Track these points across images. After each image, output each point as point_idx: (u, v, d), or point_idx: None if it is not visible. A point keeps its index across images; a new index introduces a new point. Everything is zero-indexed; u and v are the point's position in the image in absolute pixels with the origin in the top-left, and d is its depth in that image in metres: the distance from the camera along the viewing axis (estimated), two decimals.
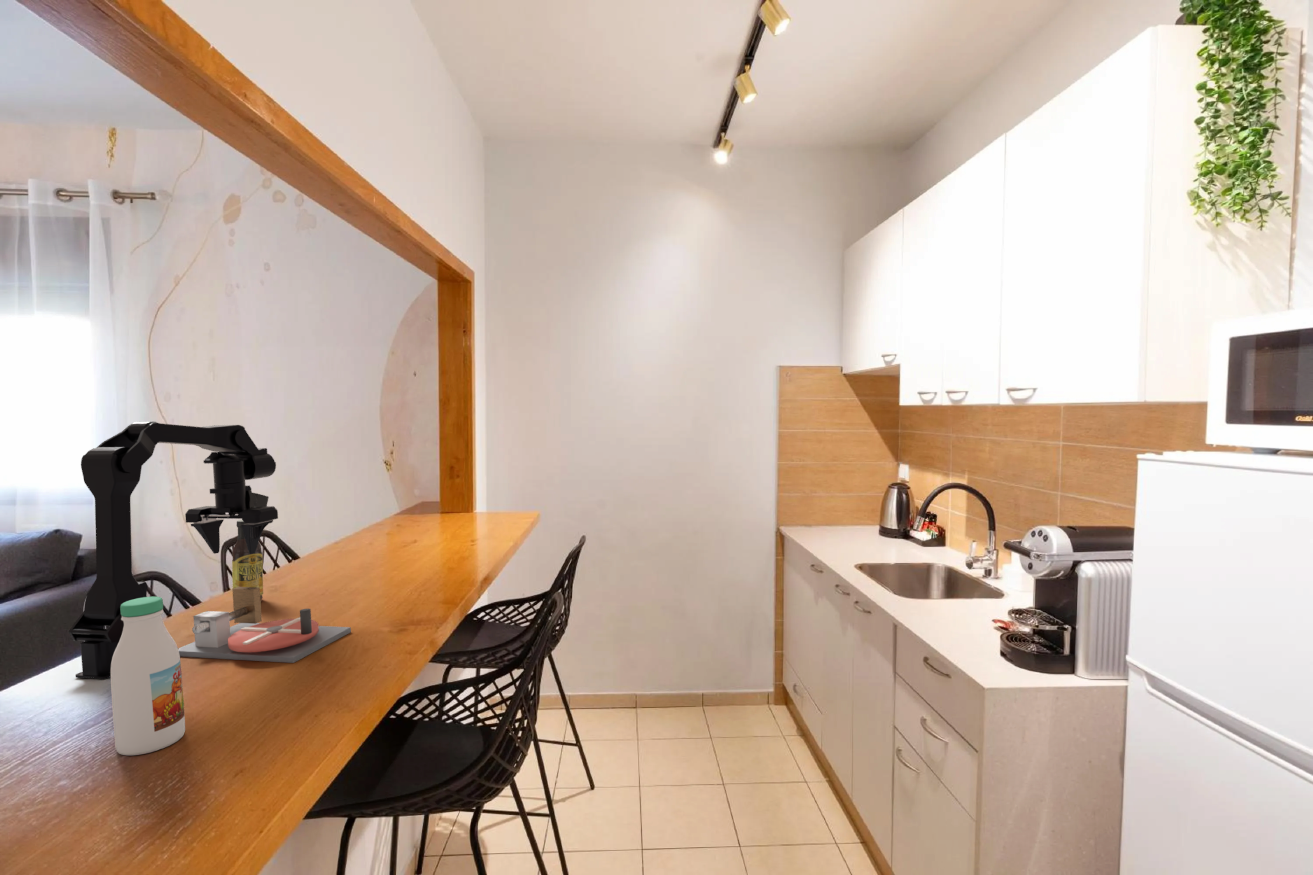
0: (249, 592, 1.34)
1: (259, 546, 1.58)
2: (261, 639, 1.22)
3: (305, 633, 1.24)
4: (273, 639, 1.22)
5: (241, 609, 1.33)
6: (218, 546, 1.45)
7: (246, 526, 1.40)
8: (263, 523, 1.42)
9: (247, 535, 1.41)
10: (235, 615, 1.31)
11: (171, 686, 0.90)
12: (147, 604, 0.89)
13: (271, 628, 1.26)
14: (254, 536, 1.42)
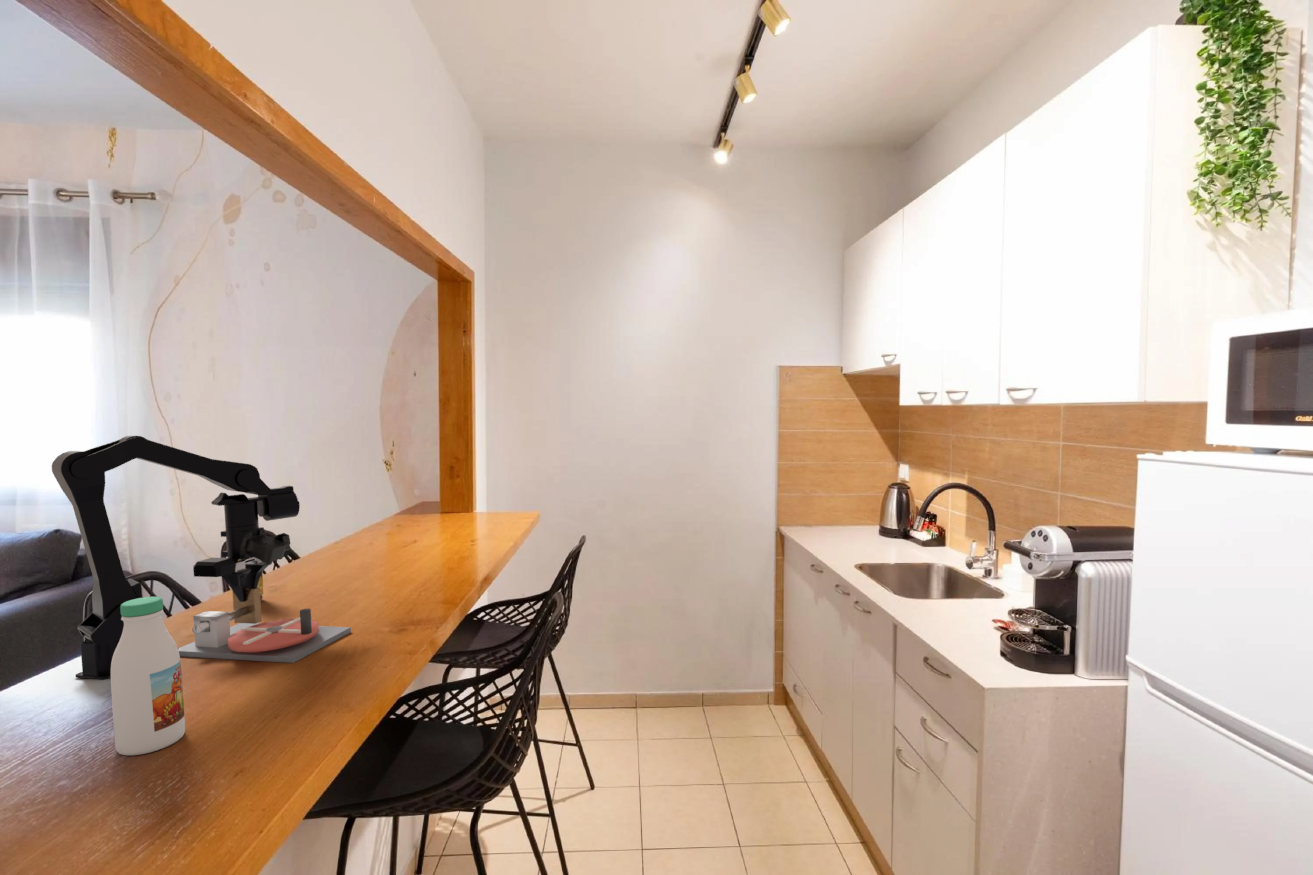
0: (249, 592, 1.34)
1: None
2: (261, 639, 1.22)
3: (305, 633, 1.24)
4: (273, 639, 1.22)
5: (241, 609, 1.33)
6: None
7: None
8: None
9: None
10: (235, 615, 1.31)
11: (171, 686, 0.90)
12: (147, 604, 0.89)
13: (271, 628, 1.26)
14: (234, 584, 1.33)
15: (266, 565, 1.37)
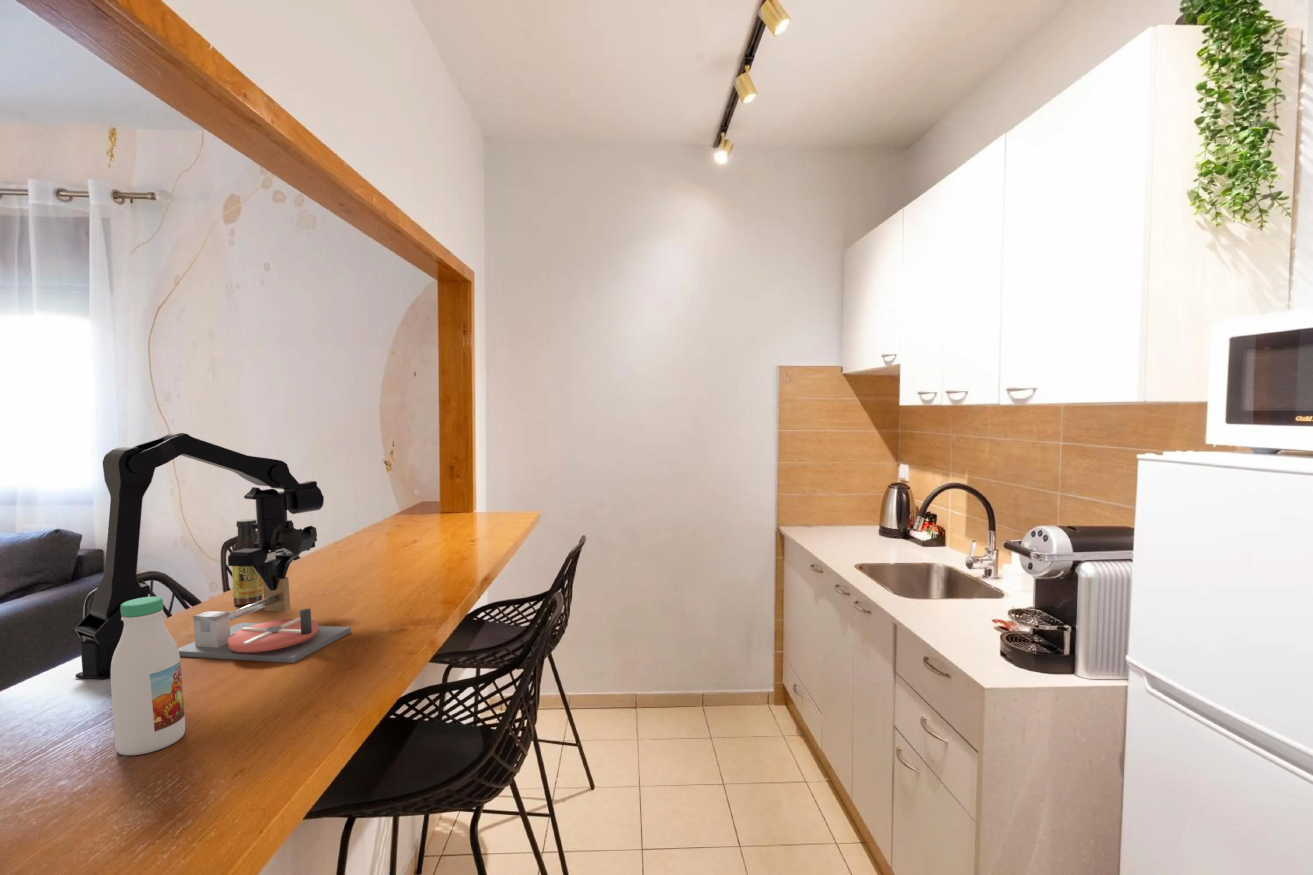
0: (278, 581, 1.41)
1: None
2: (261, 639, 1.22)
3: (305, 633, 1.24)
4: (273, 639, 1.22)
5: (271, 597, 1.41)
6: None
7: None
8: None
9: None
10: (266, 603, 1.39)
11: (171, 686, 0.90)
12: (147, 604, 0.89)
13: (271, 628, 1.26)
14: (265, 574, 1.40)
15: (294, 556, 1.44)
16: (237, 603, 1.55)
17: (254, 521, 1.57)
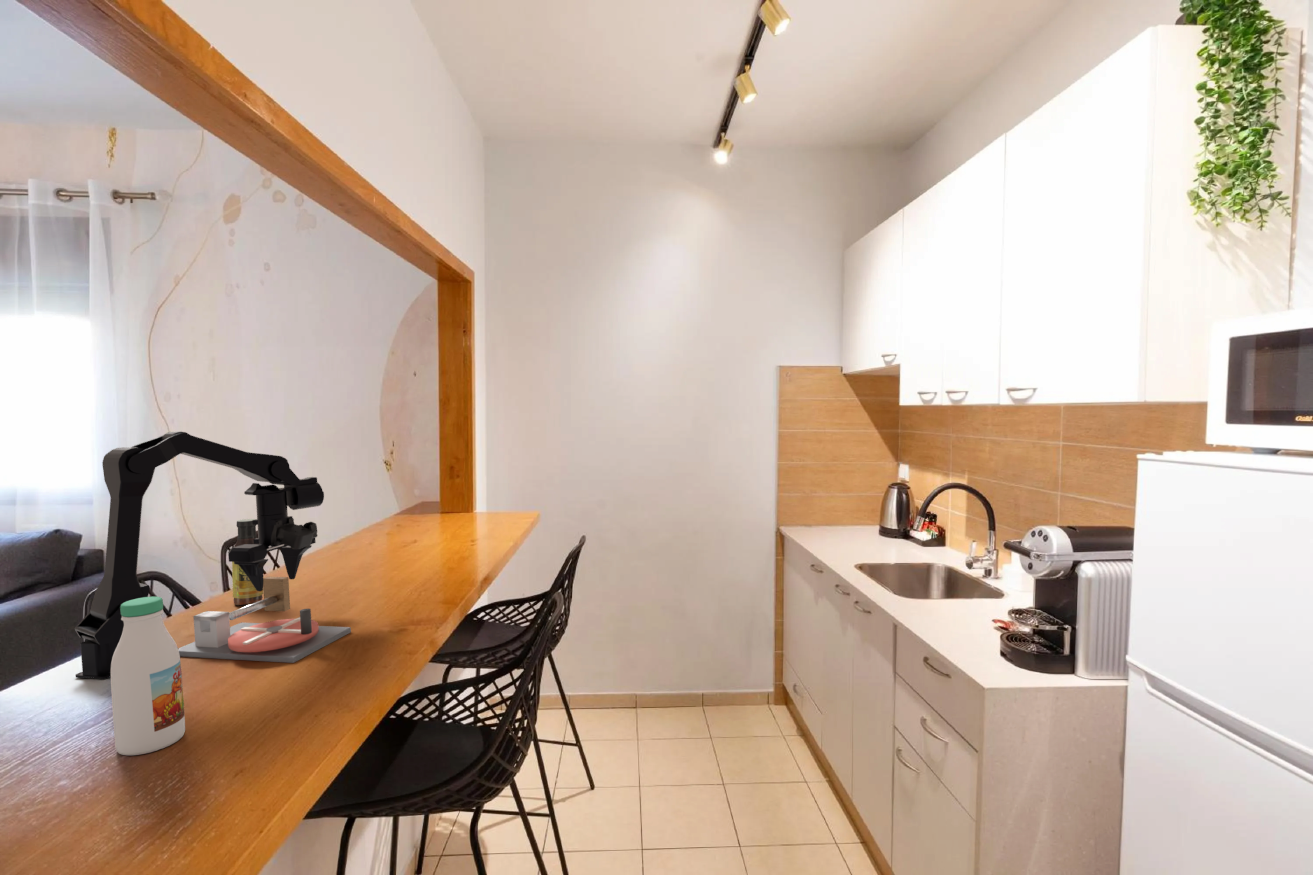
0: (278, 581, 1.41)
1: None
2: (261, 639, 1.22)
3: (305, 633, 1.24)
4: (273, 639, 1.22)
5: (271, 597, 1.41)
6: (292, 573, 1.47)
7: None
8: (244, 563, 1.34)
9: None
10: (266, 603, 1.39)
11: (171, 686, 0.90)
12: (147, 604, 0.89)
13: (271, 628, 1.26)
14: (252, 574, 1.37)
15: (306, 548, 1.48)
16: (237, 603, 1.55)
17: None
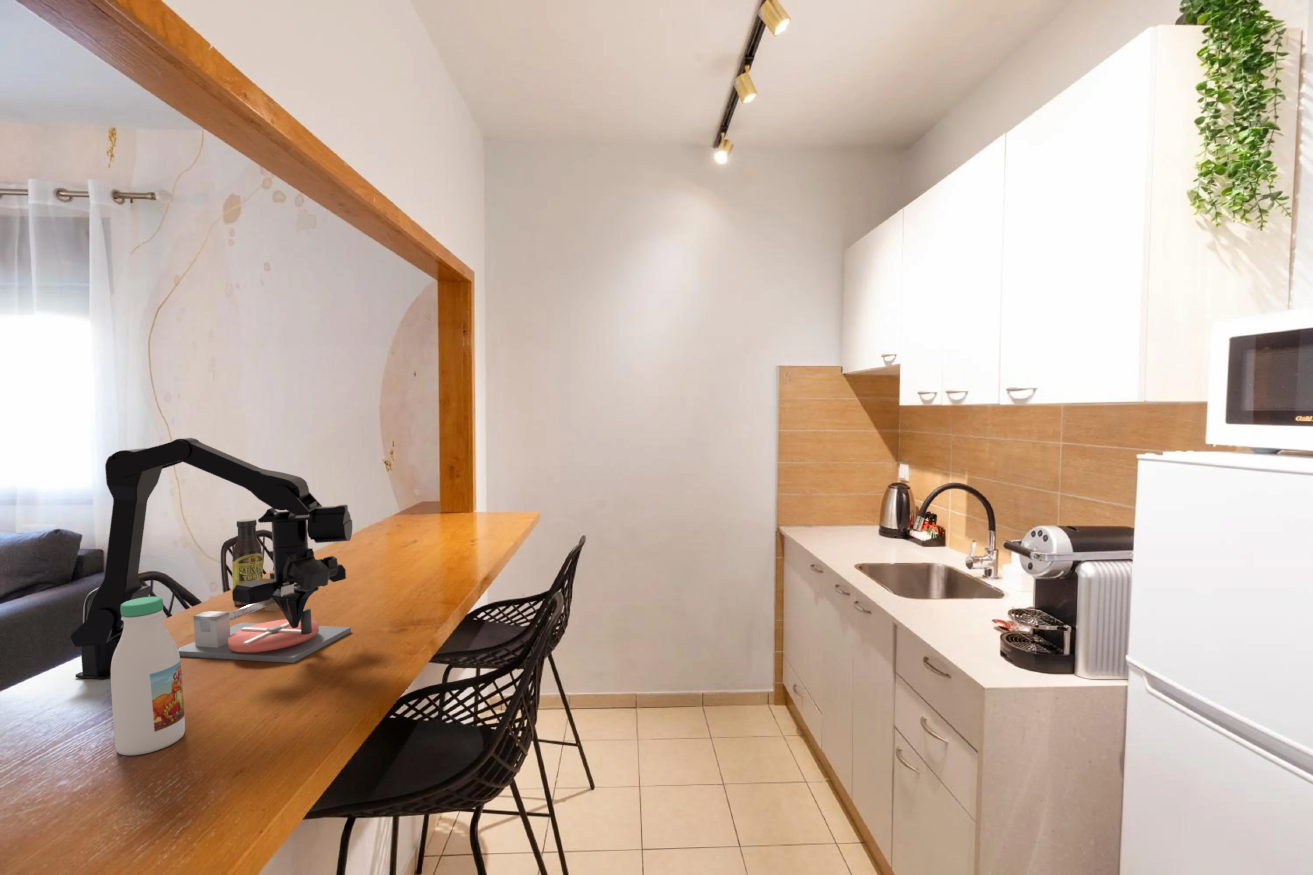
0: None
1: (259, 546, 1.58)
2: (261, 639, 1.22)
3: (305, 633, 1.24)
4: (273, 639, 1.22)
5: None
6: (295, 620, 1.22)
7: None
8: (273, 596, 1.19)
9: None
10: (266, 603, 1.39)
11: (171, 686, 0.90)
12: (147, 604, 0.89)
13: (271, 628, 1.26)
14: (285, 608, 1.22)
15: (310, 591, 1.23)
16: (237, 603, 1.55)
17: (254, 521, 1.57)
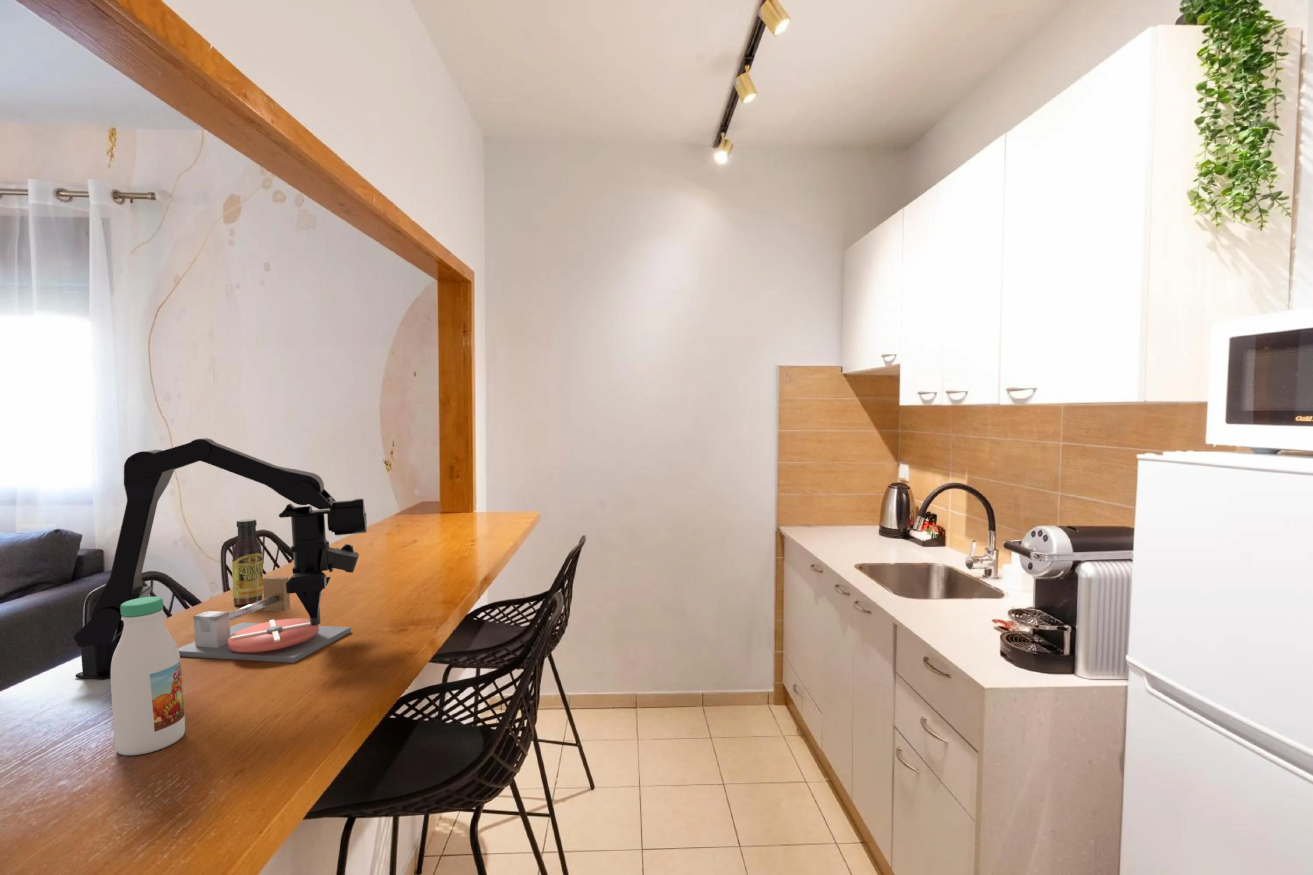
0: (278, 581, 1.41)
1: (259, 546, 1.58)
2: (282, 636, 1.23)
3: (318, 623, 1.30)
4: (295, 633, 1.25)
5: (271, 597, 1.41)
6: None
7: None
8: None
9: None
10: (266, 603, 1.39)
11: (171, 686, 0.90)
12: (147, 604, 0.89)
13: (271, 628, 1.26)
14: (309, 600, 1.26)
15: (328, 580, 1.30)
16: (237, 603, 1.55)
17: (254, 521, 1.57)
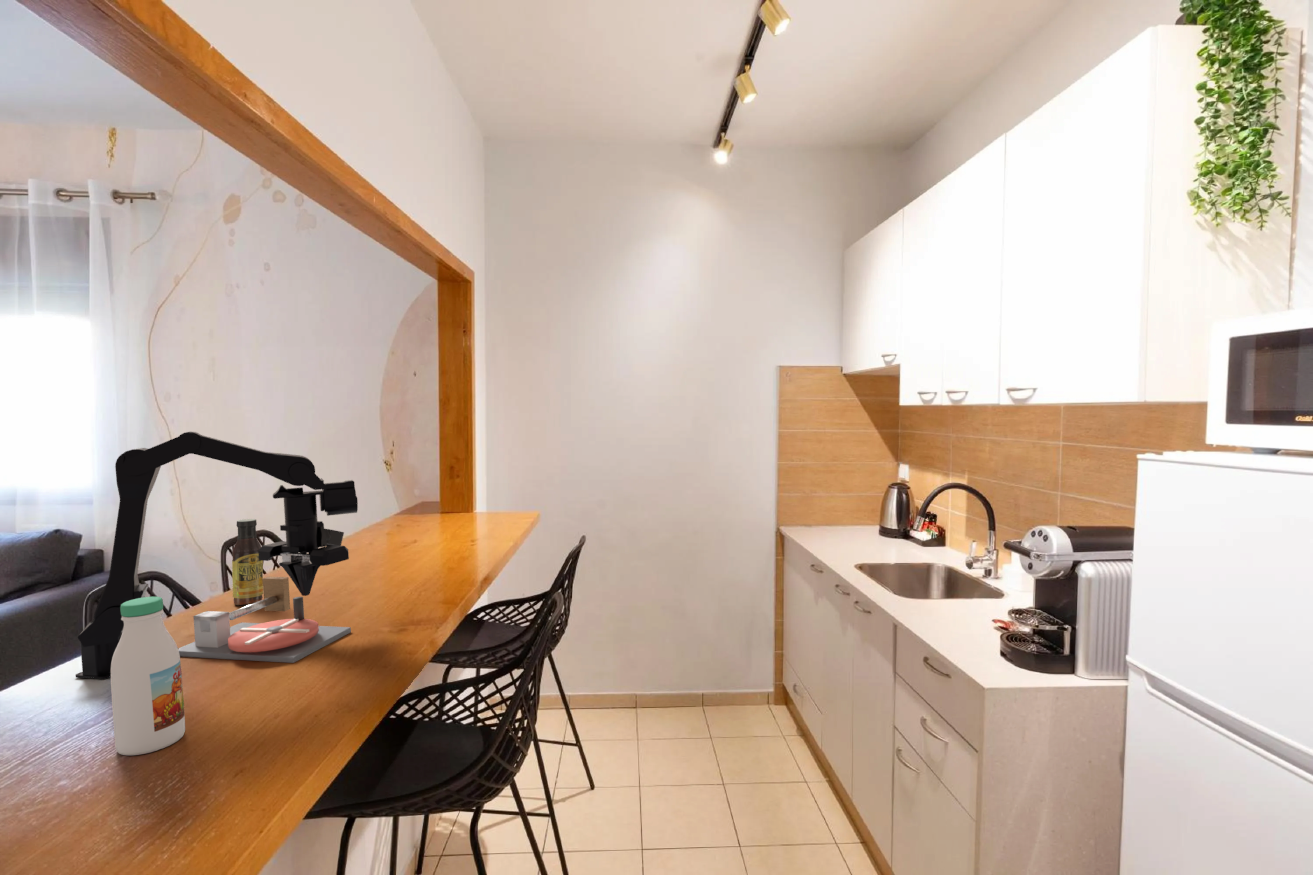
0: (278, 581, 1.41)
1: (259, 546, 1.58)
2: None
3: None
4: (303, 626, 1.29)
5: (271, 597, 1.41)
6: None
7: (298, 567, 1.29)
8: None
9: (299, 576, 1.30)
10: (266, 603, 1.39)
11: (171, 686, 0.90)
12: (147, 604, 0.89)
13: (272, 629, 1.26)
14: (307, 577, 1.31)
15: None
16: (237, 603, 1.55)
17: (254, 521, 1.57)
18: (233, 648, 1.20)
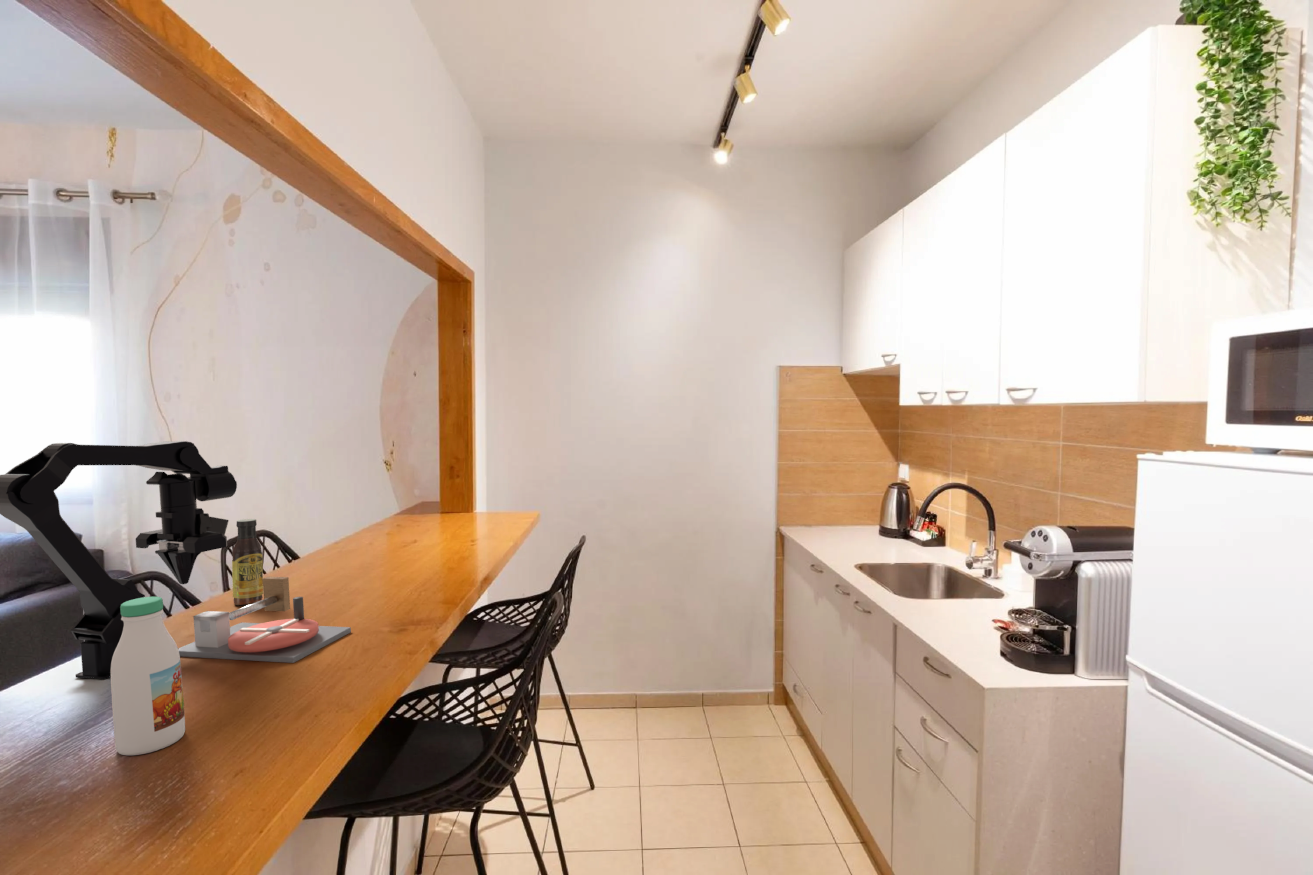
0: (278, 581, 1.41)
1: (259, 546, 1.58)
2: None
3: None
4: (303, 626, 1.29)
5: (271, 597, 1.41)
6: None
7: (172, 554, 1.26)
8: None
9: (175, 564, 1.27)
10: (266, 603, 1.39)
11: (171, 686, 0.90)
12: (147, 604, 0.89)
13: (272, 629, 1.26)
14: (184, 565, 1.29)
15: None
16: (237, 603, 1.55)
17: (254, 521, 1.57)
18: (233, 648, 1.20)
